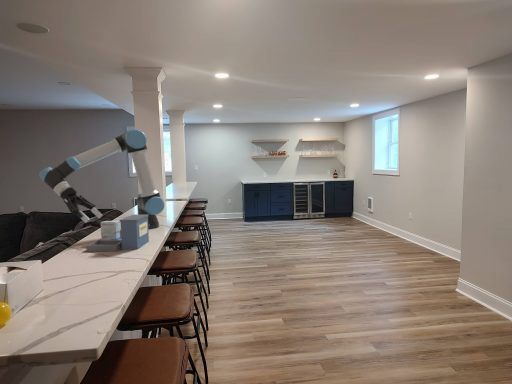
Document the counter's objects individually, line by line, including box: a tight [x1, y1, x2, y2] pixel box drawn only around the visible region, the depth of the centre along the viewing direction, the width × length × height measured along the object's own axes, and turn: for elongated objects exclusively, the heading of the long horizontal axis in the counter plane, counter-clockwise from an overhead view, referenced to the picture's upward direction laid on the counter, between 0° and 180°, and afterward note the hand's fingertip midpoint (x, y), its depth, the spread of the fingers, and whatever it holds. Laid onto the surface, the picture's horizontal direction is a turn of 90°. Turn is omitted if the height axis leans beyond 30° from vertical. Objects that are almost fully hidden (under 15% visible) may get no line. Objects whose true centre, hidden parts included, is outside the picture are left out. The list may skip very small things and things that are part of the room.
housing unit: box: [119, 214, 150, 250], centre depth 166 cm, size 17×9×15 cm, turn 179°
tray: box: [86, 239, 122, 252], centre depth 161 cm, size 11×15×3 cm
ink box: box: [100, 220, 121, 240], centre depth 173 cm, size 9×5×12 cm, turn 84°
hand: (94, 218), depth 172 cm, fingers open, 13 cm apart
